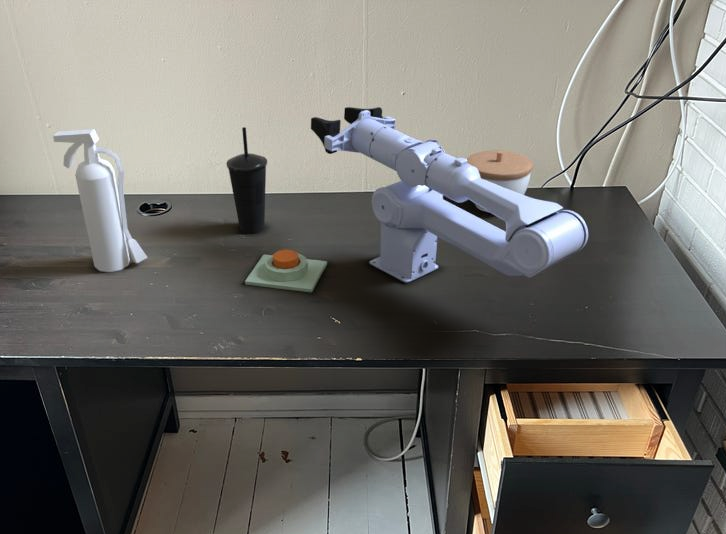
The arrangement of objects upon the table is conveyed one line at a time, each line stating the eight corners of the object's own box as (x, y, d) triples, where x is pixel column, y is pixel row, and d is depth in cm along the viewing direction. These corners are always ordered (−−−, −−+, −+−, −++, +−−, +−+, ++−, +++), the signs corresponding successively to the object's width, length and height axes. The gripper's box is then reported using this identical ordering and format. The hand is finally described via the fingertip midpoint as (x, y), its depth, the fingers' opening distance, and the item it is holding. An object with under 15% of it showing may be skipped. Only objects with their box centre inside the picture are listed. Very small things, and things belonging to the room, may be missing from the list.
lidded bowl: (537, 213, 144) (547, 159, 137) (478, 222, 142) (484, 168, 135) (507, 189, 154) (515, 137, 147) (451, 197, 152) (456, 145, 145)
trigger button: (301, 259, 129) (301, 250, 128) (294, 271, 126) (294, 262, 125) (278, 256, 130) (277, 248, 129) (270, 268, 127) (269, 260, 126)
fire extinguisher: (141, 276, 131) (115, 138, 117) (79, 271, 134) (46, 136, 119) (154, 258, 137) (131, 124, 122) (94, 253, 139) (65, 122, 124)
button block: (326, 264, 132) (326, 252, 130) (311, 292, 124) (311, 279, 122) (263, 257, 135) (262, 245, 133) (245, 284, 127) (243, 272, 126)
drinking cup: (273, 220, 147) (267, 120, 135) (269, 237, 141) (262, 134, 129) (236, 220, 148) (226, 121, 136) (230, 237, 142) (219, 135, 130)
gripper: (416, 110, 122) (361, 86, 131) (350, 131, 116) (297, 105, 124) (411, 150, 127) (358, 125, 135) (348, 172, 120) (296, 144, 128)
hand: (329, 118), depth 130 cm, fingers open, 7 cm apart
